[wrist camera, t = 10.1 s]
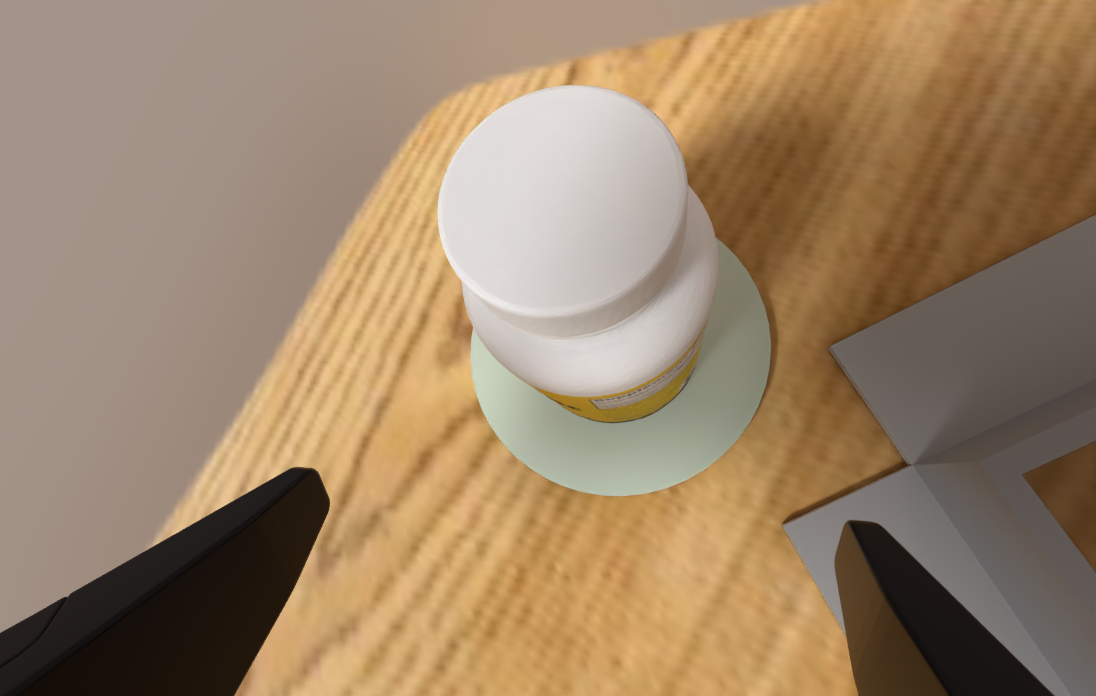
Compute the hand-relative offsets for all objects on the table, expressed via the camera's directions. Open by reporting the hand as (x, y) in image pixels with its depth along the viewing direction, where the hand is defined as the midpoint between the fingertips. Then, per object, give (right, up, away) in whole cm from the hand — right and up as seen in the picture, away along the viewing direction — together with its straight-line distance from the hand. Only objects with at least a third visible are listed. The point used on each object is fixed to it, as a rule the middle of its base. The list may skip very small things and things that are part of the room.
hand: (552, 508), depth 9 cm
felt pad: (+2, +3, +9) cm, 10 cm away
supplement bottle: (+2, +3, +9) cm, 9 cm away
